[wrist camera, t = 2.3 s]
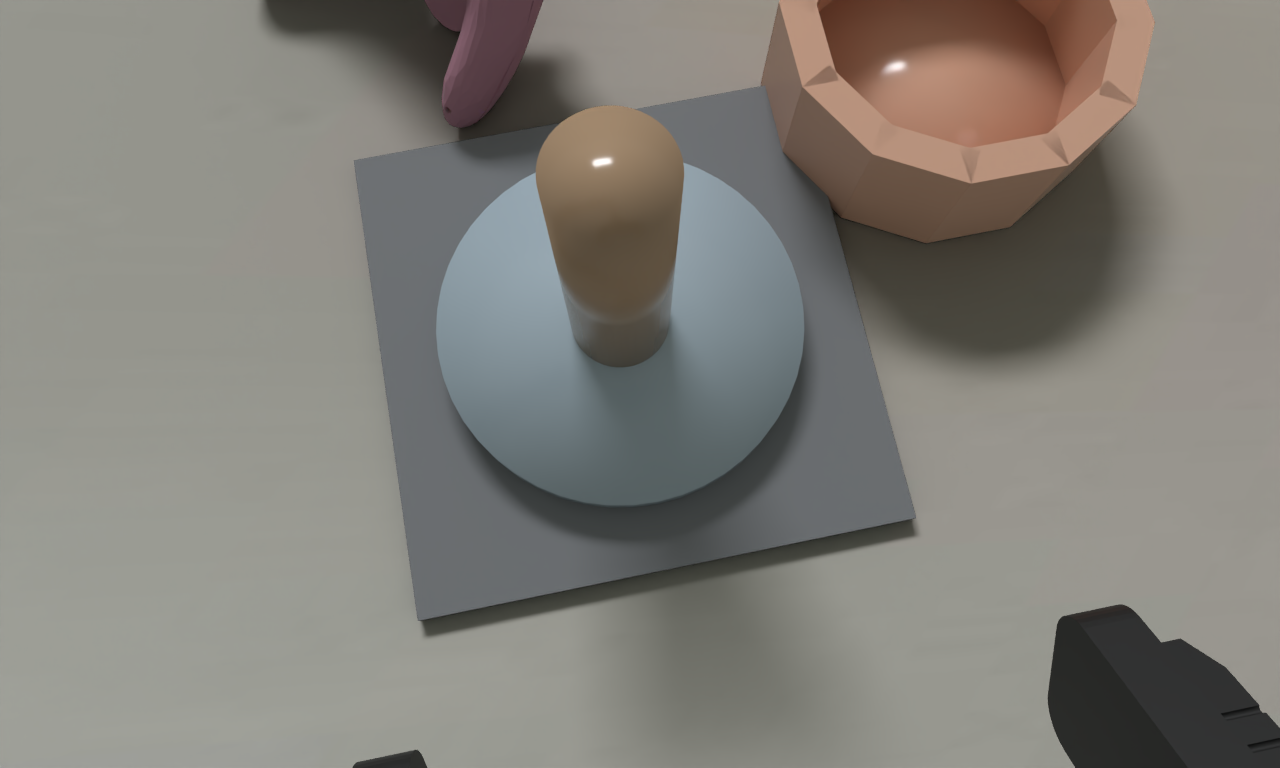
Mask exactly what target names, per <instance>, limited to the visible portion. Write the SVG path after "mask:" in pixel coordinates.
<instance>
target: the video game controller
mask: <svg viewBox="0 0 1280 768" xmlns="http://www.w3.org/2000/svg"><path fill="white" fill-rule="evenodd" d="M542 2H543V0H425V3H426V4H427V6H428V7H429V9H430V11H431V12H432V14H433V15H434V16H435V17H436V18H437V20H438V21H439V22H440V23H441V24H442V25H443V26H445V27H447V28H449V29H451V30H452V31H461V32H460V35H459V38H458V41H457V44H456V46H455V49H454V52H453V55H452V58H451V60H450V63H449V66H448V69H447V72H446V75H445V77H444V82H443V92H442V107H443V113H444V116H445V119H446V120H447V122H448V123H449V124H450V125H452V126H454V127H459V128H462V127H468V126H471V125H472V124H475V123H476V122H478V121H479V120H480V119H481V118H482V117H484V116H485V115H486V114H487V113H488V112H489V110H490V109H491V108H492V107H493V106H494V104H495V103H496V101H497V100H498V99H499V97H500V96H501V95H502V93H503V92H504V90H505V89H506V87H507V85H508V84H509V82H510V80H511V79H512V77H513V75H514V74H515V72H516V70H517V67H518V65H519V63H520V61H521V59H522V57H523V55H524V53H525V50H526V47H527V45H528V42H529V39H530V36H531V33H532V30H533V28H534V25H535V22H536V19H537V16H538V14H539V11H540V8H541V5H542Z"/></svg>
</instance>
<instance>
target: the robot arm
mask: <svg viewBox="0 0 1280 768" xmlns="http://www.w3.org/2000/svg"><path fill="white" fill-rule="evenodd" d="M1048 706H1049V712H1050V717H1051V720H1052V724H1053V727H1054V730H1055V732H1056V734H1057V737H1058V739H1059V741H1060V743H1061V745H1062V747H1063V748H1064V750H1065V752H1066V753H1067V755H1068V757H1069V758H1070V760H1071V761H1072V763H1073V764H1074V766H1075V768H1280V728H1279V727H1278V726H1277V725H1276V723H1275V722H1274V721H1273V720H1272V719H1271V718H1270V717H1269V716H1268V714H1267V713H1262V712H1261V711H1260V708H1259V704H1258V703H1257V702H1256V701H1255V700H1254V699H1253V698H1252V697H1251V695H1250V694H1249V693H1248V692H1247V691H1246V690H1245V689H1244V688H1243V686H1242V685H1241V684H1240V683H1239V682H1238V681H1237V680H1236V679H1235V677H1234V676H1233V675H1232V674H1231V673H1230V672H1229V671H1228V670H1227V668H1226V667H1224V666H1223V665H1221V664H1219V663H1218V662H1216V661H1215V660H1213V659H1212V658H1210V657H1208V656H1207V655H1205V654H1204V653H1202V652H1201V651H1199V650H1198V649H1196V648H1194V647H1193V646H1191V645H1190V644H1188V643H1187V642H1185V641H1184V640H1182V639H1177V640H1172V641H1167V642H1162V643H1161V642H1160V641H1159V639H1158V638H1157V637H1156V636H1155V635H1154V633H1153V632H1152V631H1151V630H1150V629H1149V628H1148V626H1147V625H1146V624H1145V623H1144V622H1143V620H1142V619H1141V618H1140V617H1139V616H1138V615H1137V614H1136V612H1134V611H1133V610H1132V609H1131V608H1129V607H1127V606H1125V605H1114V606H1110V607H1105V608H1100V609H1095V610H1091V611H1086V612H1081V613H1076V614H1072V615H1067V616H1063V617H1061V618H1060V620H1059V621H1058V624H1057V629H1056V637H1055V645H1054V652H1053V660H1052V668H1051V675H1050V683H1049V691H1048ZM353 768H427V766H426V764H425V761H424V759H423V757H422V755H421V753H420V752H419V751H418V750H413V751H408V752H404V753H399V754H394V755H389V756H385V757H380V758H375V759H370V760H366V761H361V762H357V763H355V765H354V766H353Z"/></svg>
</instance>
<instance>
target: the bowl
mask: <svg viewBox="0 0 1280 768" xmlns="http://www.w3.org/2000/svg"><path fill="white" fill-rule="evenodd" d="M1154 24H1155V21H1154V19H1153V16H1152V14H1151V11H1150V8H1149V6H1148V3H1147V1H1146V0H780V2H779V5H778V9H777V14H776V18H775V23H774V27H773V32H772V36H771V41H770V45H769V50H768V54H767V58H766V63H765V67H764V72H763V76H762V81H761V85H762V86H765V87H766V90H767V94H768V98H769V102H770V106H771V109H772V113H773V117H774V121H775V124H776V128H777V132H778V136H779V140H780V143H781V147H782V152H784V153H785V154H786V155H787V156H788V157H789V158H790V159H791V160H792V161H793V162H794V163H795V164H796V165H797V166H798V167H799V168H800V169H801V170H802V171H803V172H804V173H805V174H806V175H807V176H808V177H809V178H810V179H811V180H812V181H813V182H814V183H815V184H816V185H817V186H818V187H819V188H820V189H821V190H822V191H823V192H824V193H825V194H826V195H827V196H828V198H829V202H830V205H831V208H832V209H833V210H834V211H835V212H836V213H837V214H838V215H839V216H840V217H841V218H845V219H848V220H851V221H854V222H858V223H861V224H864V225H868V226H871V227H874V228H877V229H881V230H884V231H887V232H891V233H894V234H897V235H900V236H904V237H907V238H910V239H913V240H917V241H920V242H923V243H930V242H935V241H940V240H945V239H951V238H956V237H961V236H966V235H971V234H977V233H982V232H987V231H992V230H998V229H1003V228H1008V227H1011V226H1012V225H1013V224H1014V223H1015V222H1017V221H1018V220H1019V219H1020V218H1021V217H1022V216H1023V215H1024V214H1025V213H1027V212H1028V211H1029V210H1030V209H1031V208H1032V207H1033V206H1034V205H1035V204H1037V203H1038V202H1039V201H1040V200H1041V199H1042V198H1043V197H1044V196H1045V195H1047V194H1048V193H1049V192H1050V191H1051V190H1052V189H1053V188H1054V187H1056V186H1057V185H1058V184H1059V183H1060V182H1061V181H1062V180H1063V179H1064V178H1066V177H1067V176H1068V175H1069V174H1070V173H1071V172H1072V171H1073V170H1074V169H1075V168H1076V167H1077V166H1078V165H1079V164H1080V163H1081V162H1082V161H1083V160H1084V159H1085V158H1086V157H1087V156H1088V154H1089V153H1090V152H1091V151H1092V150H1093V149H1094V148H1095V147H1096V146H1097V145H1098V144H1099V143H1100V142H1101V141H1102V140H1103V139H1104V138H1105V137H1106V136H1107V135H1108V134H1109V133H1110V132H1111V131H1112V130H1113V129H1114V128H1115V126H1116V125H1117V124H1118V123H1119V122H1120V121H1121V120H1122V119H1123V118H1124V117H1125V116H1126V115H1127V114H1128V113H1129V112H1130V111H1131V110H1132V109H1133V108H1134V107H1135V106H1136V103H1137V99H1138V94H1139V90H1140V85H1141V81H1142V77H1143V72H1144V68H1145V64H1146V59H1147V55H1148V50H1149V46H1150V42H1151V37H1152V33H1153V29H1154Z"/></svg>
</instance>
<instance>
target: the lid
mask: <svg viewBox="0 0 1280 768" xmlns="http://www.w3.org/2000/svg"><path fill="white" fill-rule="evenodd" d="M436 338H437V349H438V357H439V362H440V366H441V370H442V375H443V379H444V381H445V384H446V386H447V389H448V392H449V394H450V397H451V399H452V401H453V403H454V405H455V407H456V409H457V411H458V412H459V414H460V416H461V418H462V420H463V421H464V423H465V424H466V425H467V427H468V428H469V429H470V431H471V432H472V433H473V435H474V436H475V437H476V439H477V440H478V441H479V442H480V443H481V444H482V445H483V446H484V447H485V448H486V449H487V450H488V451H489V452H490V454H491V455H492V456H493V457H494V458H495V459H496V460H497V461H498V462H499V463H500V464H502V465H503V466H504V467H506V468H507V469H508V470H510V471H511V472H512V473H513V474H515V475H516V476H517V477H519V478H520V479H522V480H524V481H526V482H527V483H529V484H531V485H532V486H534V487H536V488H538V489H539V490H542V491H544V492H547V493H549V494H552V495H554V496H557V497H559V498H561V499H565V500H569V501H573V502H577V503H580V504H584V505H591V506H599V507H607V508H634V507H641V506H648V505H656V504H660V503H664V502H667V501H671V500H675V499H678V498H682V497H684V496H686V495H689V494H691V493H693V492H696V491H698V490H700V489H703V488H705V487H706V486H708V485H710V484H711V483H713V482H715V481H716V480H718V479H720V478H722V477H723V476H725V475H726V474H727V473H728V472H730V471H731V470H732V469H734V468H735V467H736V466H737V465H739V464H740V463H741V462H742V461H743V460H744V459H745V458H746V457H747V456H748V455H749V454H750V453H751V452H752V451H753V450H754V449H755V448H756V447H757V446H758V445H759V444H760V442H761V441H762V440H763V438H764V437H765V436H766V434H767V433H768V431H769V430H770V429H771V427H772V426H773V425H774V423H775V422H776V420H777V419H778V417H779V415H780V413H781V412H782V410H783V408H784V406H785V404H786V402H787V401H788V399H789V396H790V394H791V391H792V389H793V386H794V383H795V381H796V378H797V375H798V371H799V366H800V362H801V357H802V353H803V341H804V311H803V303H802V297H801V292H800V287H799V283H798V280H797V277H796V274H795V271H794V268H793V265H792V262H791V260H790V258H789V256H788V254H787V252H786V250H785V248H784V246H783V244H782V242H781V241H780V239H779V238H778V236H777V235H776V233H775V232H774V230H773V229H772V227H771V226H770V224H769V223H768V222H767V221H766V219H765V218H764V217H763V216H762V215H761V214H760V213H759V211H758V210H757V209H756V208H755V207H754V206H753V205H752V204H751V203H750V202H749V201H747V200H746V199H745V198H744V197H743V196H742V195H741V194H740V193H738V192H737V191H736V190H734V189H733V188H731V187H730V186H729V185H727V184H726V183H724V182H723V181H721V180H720V179H718V178H716V177H714V176H712V175H711V174H709V173H707V172H705V171H703V170H701V169H699V168H697V167H694V166H691V165H688V164H686V163H683V158H682V155H681V152H680V149H679V147H678V145H677V143H676V141H675V140H674V138H673V136H672V135H671V134H670V133H669V131H668V130H667V129H666V128H665V127H664V126H663V125H662V124H661V123H659V122H658V121H657V120H655V119H654V118H652V117H651V116H649V115H647V114H645V113H643V112H641V111H638V110H635V109H632V108H628V107H623V106H599V107H593V108H589V109H586V110H583V111H580V112H578V113H576V114H574V115H572V116H570V117H568V118H567V119H566V120H564V121H563V122H561V123H560V124H559V125H558V126H557V127H556V128H555V129H554V130H553V131H552V132H551V133H550V134H549V136H548V137H547V139H546V140H545V142H544V144H543V146H542V148H541V150H540V153H539V156H538V159H537V164H536V173H534V174H532V175H530V176H528V177H526V178H524V179H522V180H521V181H519V182H518V183H516V184H515V185H514V186H512V187H511V188H509V189H508V190H506V191H505V192H503V193H502V194H501V195H500V196H499V197H498V198H497V199H496V200H494V201H493V202H492V203H491V204H490V205H489V206H488V207H487V208H486V209H485V210H484V211H483V212H482V213H481V215H480V216H479V217H478V218H477V219H476V220H475V221H474V223H473V224H472V225H471V226H470V228H469V229H468V231H467V232H466V234H465V235H464V237H463V238H462V240H461V241H460V243H459V245H458V247H457V249H456V251H455V253H454V255H453V257H452V259H451V261H450V263H449V265H448V268H447V271H446V274H445V277H444V280H443V283H442V286H441V291H440V297H439V302H438V307H437V322H436Z"/></svg>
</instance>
